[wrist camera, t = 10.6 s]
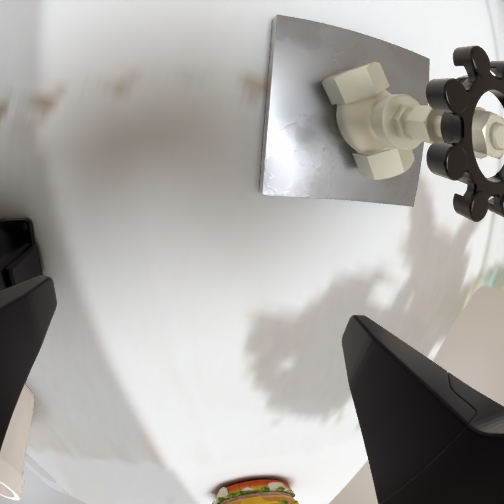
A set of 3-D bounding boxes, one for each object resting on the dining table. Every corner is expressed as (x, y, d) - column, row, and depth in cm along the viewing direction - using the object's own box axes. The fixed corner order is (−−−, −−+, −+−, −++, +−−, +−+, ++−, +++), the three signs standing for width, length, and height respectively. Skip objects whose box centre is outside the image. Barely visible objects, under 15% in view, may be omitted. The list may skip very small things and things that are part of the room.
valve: (373, 60, 17) (516, 38, 6) (406, 145, 19) (544, 186, 9) (291, 91, 17) (412, 61, 6) (332, 182, 20) (459, 257, 9)
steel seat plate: (258, 190, 20) (262, 194, 19) (272, 20, 16) (276, 14, 15) (405, 202, 22) (413, 206, 21) (420, 60, 18) (429, 58, 17)
